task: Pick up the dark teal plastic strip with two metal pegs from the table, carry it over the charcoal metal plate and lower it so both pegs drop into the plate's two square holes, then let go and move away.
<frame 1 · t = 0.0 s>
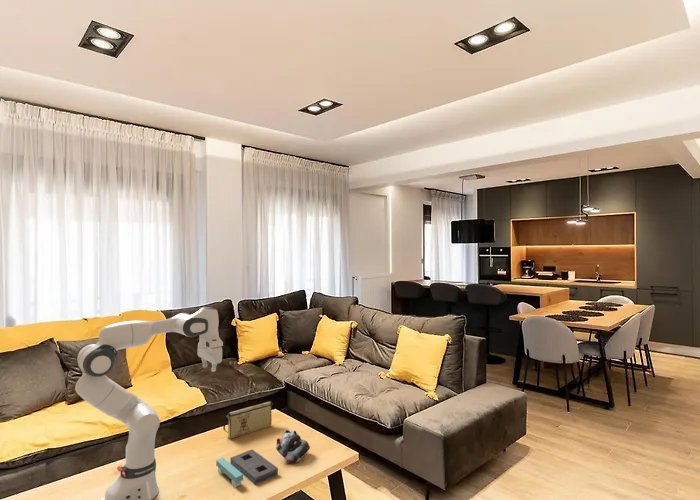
hand: (209, 369, 194), 48 cm above the table, tool pointing down, fingers open, 8 cm apart
lucky cat figurine: (292, 458, 204), on the table
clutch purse: (248, 431, 234), on the table
peg strip: (229, 477, 186), on the table
hole plate: (253, 468, 194), on the table
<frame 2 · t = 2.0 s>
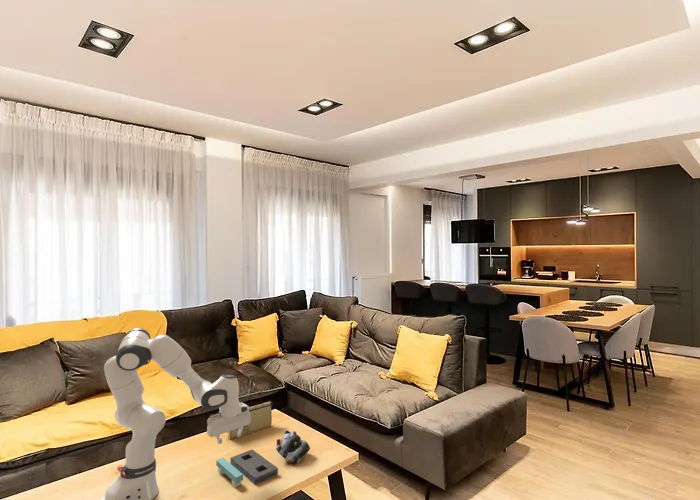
hand: (229, 439, 186), 18 cm above the table, tool pointing down, fingers open, 8 cm apart
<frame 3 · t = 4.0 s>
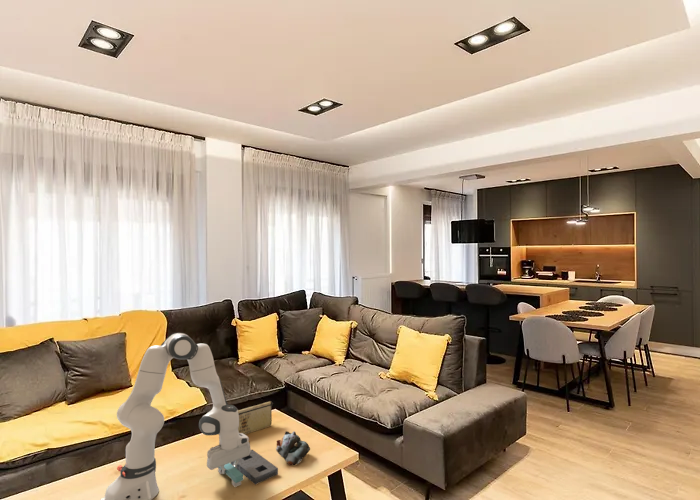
hand: (229, 471, 187), 3 cm above the table, tool pointing down, fingers closed on peg strip, 3 cm apart
peg strip: (229, 477, 186), on the table, touching gripper
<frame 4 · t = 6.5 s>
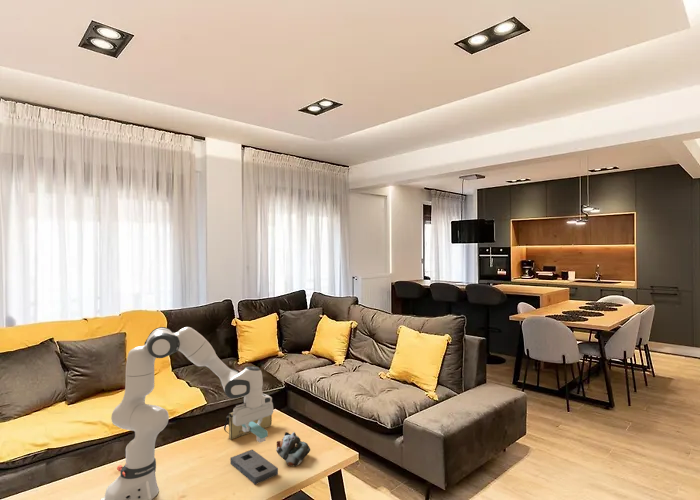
hand: (253, 429, 194), 19 cm above the table, tool pointing down, fingers closed on peg strip, 3 cm apart
peg strip: (253, 435, 194), point 16 cm above the table, touching gripper
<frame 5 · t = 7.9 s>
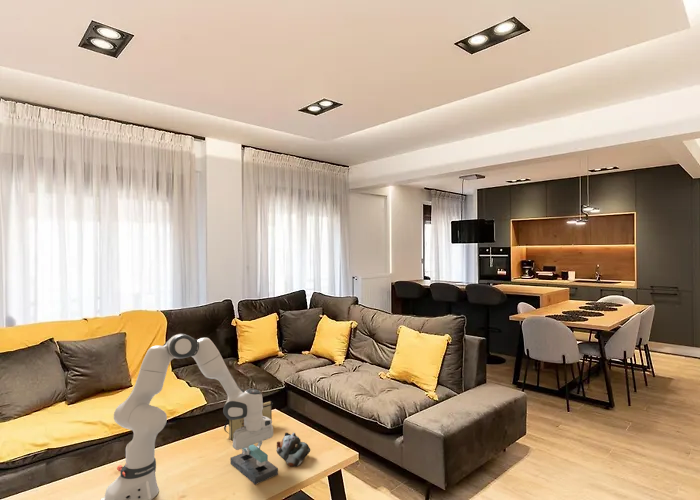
hand: (253, 452, 194), 8 cm above the table, tool pointing down, fingers closed on peg strip, 3 cm apart
peg strip: (253, 458, 194), point 5 cm above the table, touching gripper
when the fingers open (4 cm above the table, at t = 9.0 s): peg strip stays where it is, resting on hole plate.
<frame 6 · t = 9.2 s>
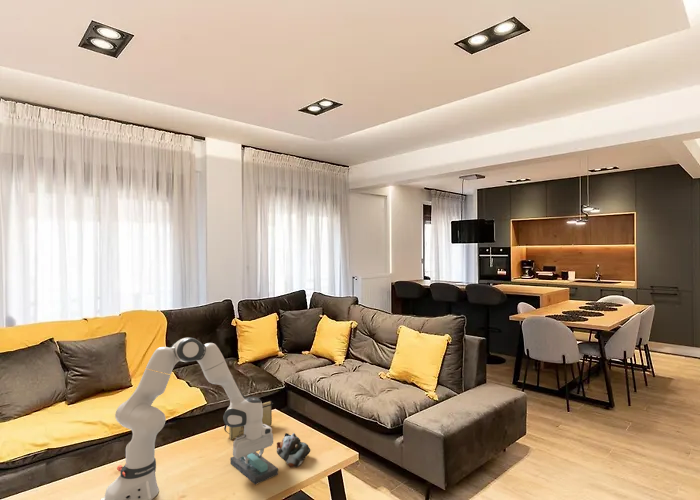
hand: (253, 460, 194), 4 cm above the table, tool pointing down, fingers open, 5 cm apart
peg strip: (253, 467, 194), resting on hole plate
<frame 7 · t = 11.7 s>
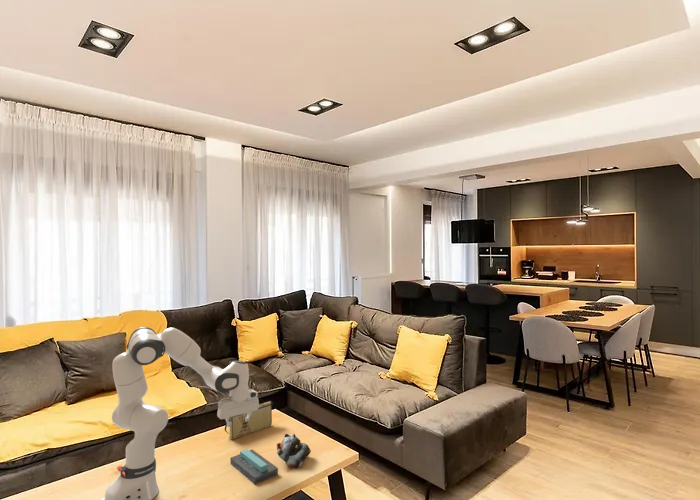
hand: (238, 423, 194), 22 cm above the table, tool pointing down, fingers open, 8 cm apart
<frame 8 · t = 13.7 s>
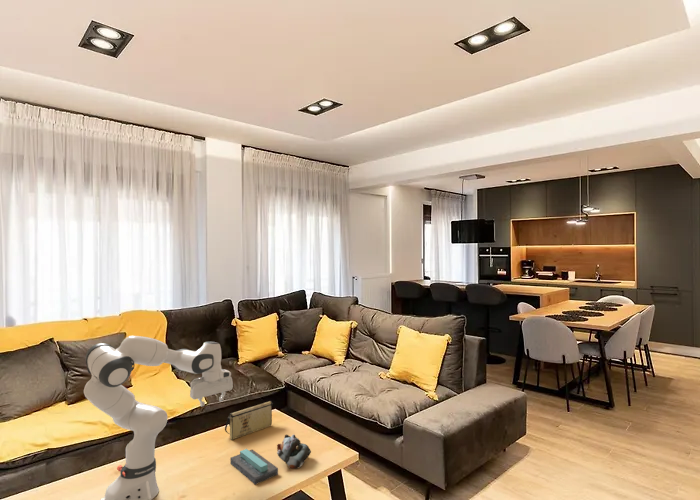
hand: (212, 403, 195), 31 cm above the table, tool pointing down, fingers open, 8 cm apart
at the end: peg strip 0.1 cm off-centre on the hole plate, point 0.5 cm above the hole plate's base; peg strip tilted 0°; the gripper is holding nothing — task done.
